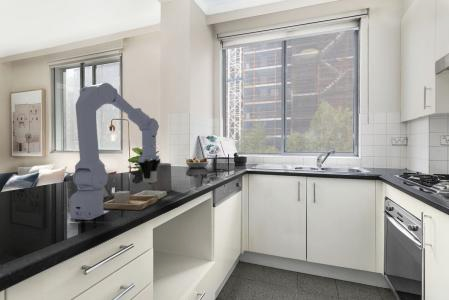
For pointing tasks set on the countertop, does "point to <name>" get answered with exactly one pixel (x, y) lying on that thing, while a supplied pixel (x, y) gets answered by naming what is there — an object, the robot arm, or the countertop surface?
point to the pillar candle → (162, 178)
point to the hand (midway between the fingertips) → (149, 177)
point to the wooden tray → (132, 203)
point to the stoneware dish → (152, 193)
